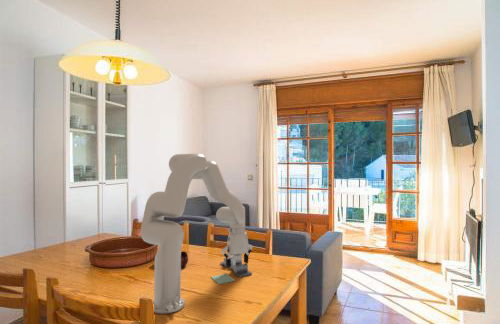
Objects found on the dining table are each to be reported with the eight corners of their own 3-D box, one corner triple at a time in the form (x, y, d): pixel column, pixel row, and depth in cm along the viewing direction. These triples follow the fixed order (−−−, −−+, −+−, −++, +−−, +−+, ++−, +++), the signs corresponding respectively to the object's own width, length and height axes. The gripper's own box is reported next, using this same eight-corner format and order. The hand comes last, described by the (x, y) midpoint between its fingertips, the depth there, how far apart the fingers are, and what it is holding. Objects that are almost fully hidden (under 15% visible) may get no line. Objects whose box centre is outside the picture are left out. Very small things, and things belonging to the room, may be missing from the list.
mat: (234, 280, 138) (234, 280, 138) (218, 284, 134) (218, 283, 134) (226, 274, 146) (226, 273, 146) (211, 277, 142) (211, 276, 142)
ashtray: (198, 263, 163) (198, 253, 163) (176, 272, 149) (176, 262, 149) (173, 257, 172) (174, 248, 172) (151, 265, 158) (151, 256, 158)
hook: (241, 271, 151) (242, 254, 151) (235, 272, 149) (235, 256, 149) (235, 266, 157) (235, 251, 157) (229, 267, 156) (229, 252, 156)
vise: (251, 274, 146) (251, 266, 146) (238, 277, 142) (238, 268, 142) (232, 262, 164) (232, 254, 164) (220, 264, 161) (220, 256, 161)
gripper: (224, 234, 144) (224, 269, 144) (256, 230, 153) (256, 263, 153) (218, 230, 151) (218, 265, 151) (248, 227, 159) (248, 259, 159)
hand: (237, 264), depth 152 cm, fingers open, 9 cm apart
